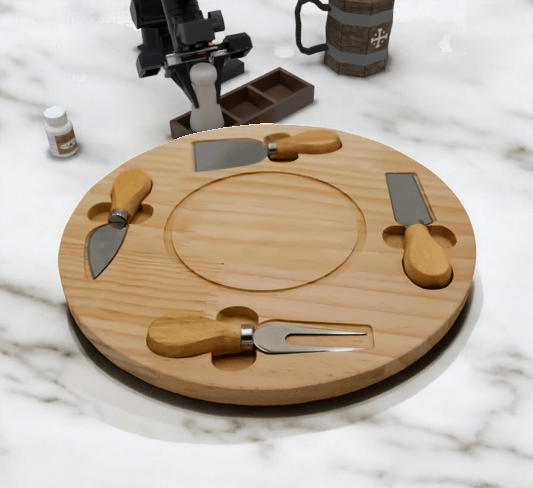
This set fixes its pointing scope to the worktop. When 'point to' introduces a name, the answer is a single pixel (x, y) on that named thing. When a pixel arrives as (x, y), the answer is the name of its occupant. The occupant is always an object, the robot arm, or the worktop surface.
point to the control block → (229, 70)
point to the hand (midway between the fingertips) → (208, 106)
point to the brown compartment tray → (257, 102)
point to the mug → (352, 35)
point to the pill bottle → (60, 132)
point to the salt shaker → (205, 99)
